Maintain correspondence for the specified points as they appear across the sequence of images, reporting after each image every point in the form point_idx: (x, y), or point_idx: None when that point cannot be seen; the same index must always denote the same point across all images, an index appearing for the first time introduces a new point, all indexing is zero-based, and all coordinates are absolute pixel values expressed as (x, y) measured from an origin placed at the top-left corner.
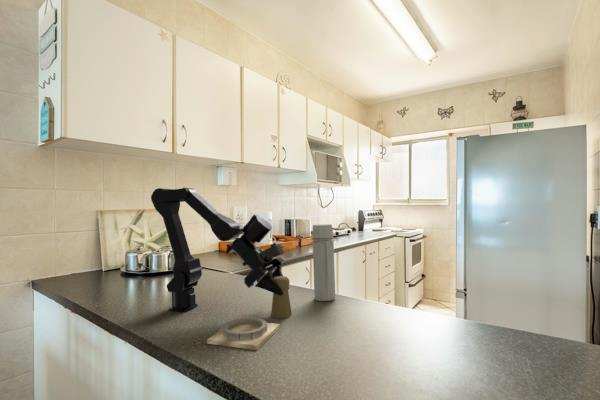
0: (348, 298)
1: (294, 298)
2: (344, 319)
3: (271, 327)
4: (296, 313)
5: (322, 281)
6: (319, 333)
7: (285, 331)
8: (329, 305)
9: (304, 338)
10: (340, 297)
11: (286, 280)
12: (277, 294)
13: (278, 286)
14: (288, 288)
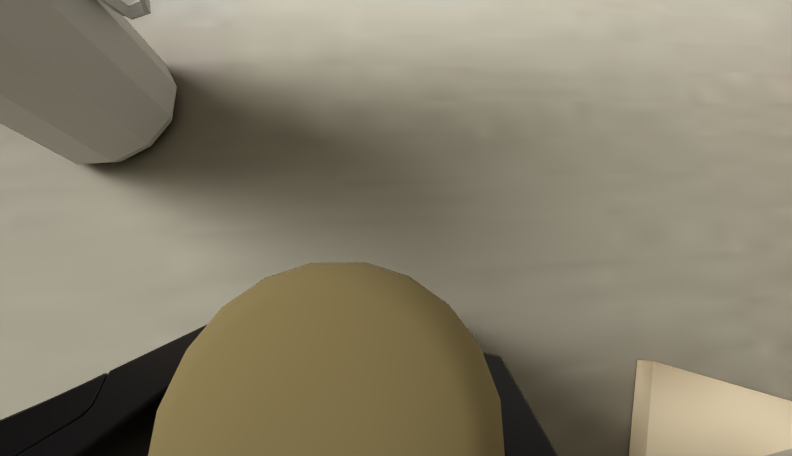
0: None
1: (36, 306)
2: (470, 33)
3: (731, 418)
4: None
5: (61, 10)
6: (672, 138)
7: (684, 318)
8: (246, 92)
9: (757, 206)
10: None
11: (425, 296)
12: None
13: (522, 440)
14: None
